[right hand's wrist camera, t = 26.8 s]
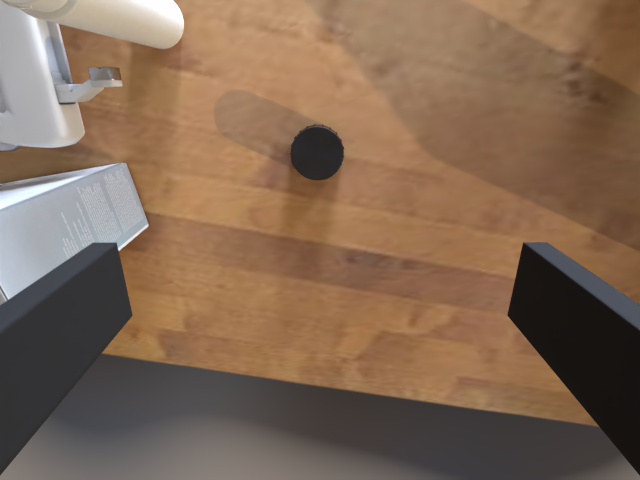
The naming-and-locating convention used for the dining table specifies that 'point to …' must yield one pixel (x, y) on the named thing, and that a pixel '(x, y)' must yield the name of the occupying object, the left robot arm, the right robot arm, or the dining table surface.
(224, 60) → the dining table surface
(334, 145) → the lid
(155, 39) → the white tube
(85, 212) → the hard drive box
